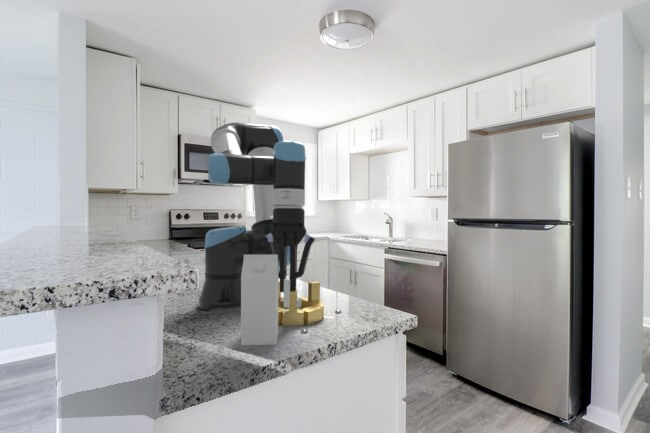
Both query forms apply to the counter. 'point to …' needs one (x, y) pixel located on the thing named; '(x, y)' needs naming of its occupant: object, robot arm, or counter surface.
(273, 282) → the milk carton
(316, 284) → the gold foil sensor mount
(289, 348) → the counter surface
